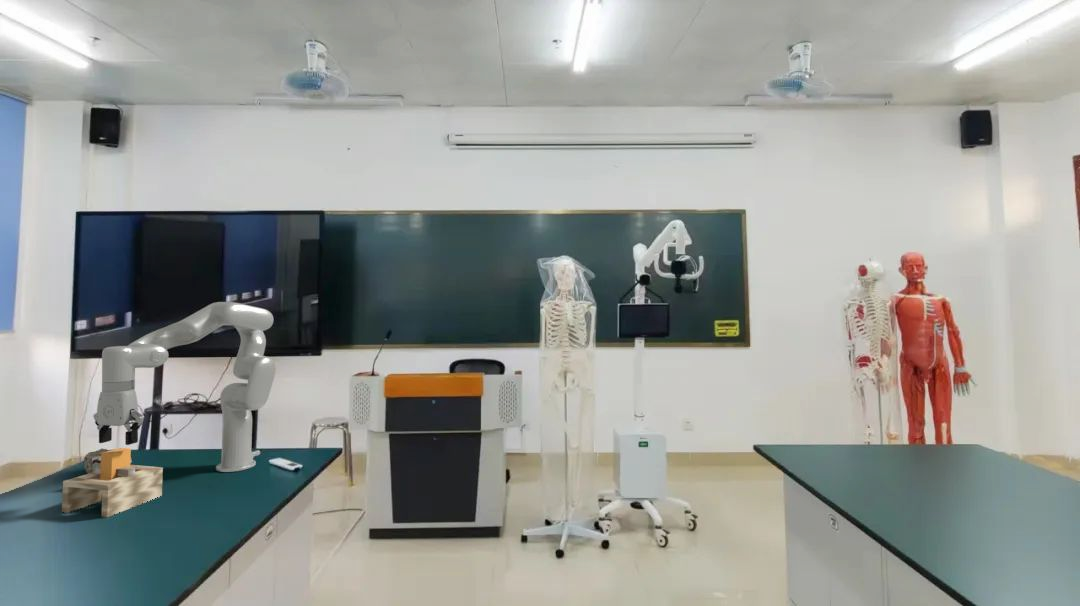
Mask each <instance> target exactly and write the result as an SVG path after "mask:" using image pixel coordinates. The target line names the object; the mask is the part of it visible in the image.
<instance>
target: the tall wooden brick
mask: <svg viewBox="0 0 1080 606" xmlns="http://www.w3.org/2000/svg"><path fill="white" fill-rule="evenodd" d="M131 452H132V449H131V448H127V447H119V448H115V449H110V451H107V452H103V453H101V471H100V480H106V481H109V480H112V479H115V478H118V477H121V476H116V469H119V468H122V467H130V465H131V463H130V461H131V460H132V457H131V456H132V455H131V454H132V453H131Z"/></svg>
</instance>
